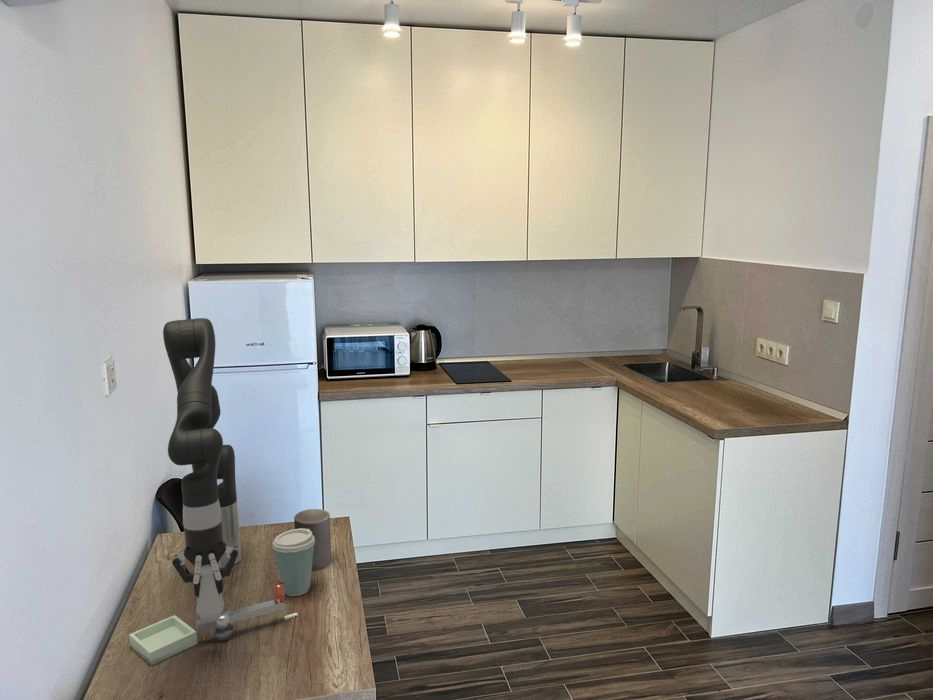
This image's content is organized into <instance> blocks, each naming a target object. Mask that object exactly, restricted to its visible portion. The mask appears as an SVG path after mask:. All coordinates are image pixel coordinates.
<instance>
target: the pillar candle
mask: <svg viewBox="0 0 933 700" xmlns="http://www.w3.org/2000/svg"><path fill="white" fill-rule="evenodd" d="M293 518H294V519H293V520H294V522H293V524H294V525H293V526H294V529H300V528H303V529H309V530H310V531H312V535H313V536H314V538H315V543H314V549H313V560H312V571H316V570H317V571H318V570H322V569H324V568H326V567H328V566H329V565H330V564H331V563H332V541H331V538H332V537H331V514H330V512H329V511H327V510H325V509H323V508H310V509H304V510H301V511H299V512H297V513H296V514H295V515H294V516H293Z"/></svg>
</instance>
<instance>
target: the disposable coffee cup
mask: <svg viewBox="0 0 933 700" xmlns="http://www.w3.org/2000/svg"><path fill="white" fill-rule="evenodd" d="M314 543H315V538H314V536H313V535H312V531H310V530H309V529H303V528H300V529H295V528H294V529H290V530H286V531H284V532H282V533H280V534H278V535H277V536H275V538H274V539H273V542H272V543H271V544H272V546H271V548H272V549H273V554H274V557H275V561H276V566H277V570H278V571H277V572H278V575H279V579H280V580H279V581H280V582H283V583H284V592H285V595H286V596H290V597H299V596H302V595H305V594H306V593H308V592H309V590H310V588H311V581H312V580H311V579H312V572H313V570H312V560H313V549H314Z"/></svg>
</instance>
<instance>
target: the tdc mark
mask: <svg viewBox="0 0 933 700" xmlns="http://www.w3.org/2000/svg"><path fill="white" fill-rule="evenodd" d="M295 616H297V617H298V616H299V615H298V612H294V613H290V614H286V615H285V616H283V617H284V618H283V619H284V620H289V618H290V619H293V618H296V617H295ZM292 617H293V618H292Z"/></svg>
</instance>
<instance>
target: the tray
mask: <svg viewBox="0 0 933 700" xmlns="http://www.w3.org/2000/svg"><path fill="white" fill-rule="evenodd" d="M197 634H198V632H197V630H195V629H193V627H191V626H190V625H189V624H187V623H186V622H184V621H183V620H182V619H181V618H180V617H178V616H177V615H176V614H175V615H172V616H169V617H167V618H165V619H162V620H160V621H157V622H155V623H152V624H151V625H148V626H145V627H143V628H141V629H139V630H137V631H134V632H131V633H129V634H128V637H129V645H130V648H131V649H132V650H133V651H134V650H135V651H136V654H137V655H138V656H139V657H141V658H142V659H143V660H144V661H145V662H147V664H148V665H150V666H151V667H152V666H154V665H156V664H158V663H160V662H162V661H164V660H167V659H168V658H171V657H173V656H175V655H177V654H179V653H182V652H184V651H186V650H188V649H190V648H192V647H194V646H196V644H197V645H198V643H199V642H198V635H197ZM183 650H184V651H183ZM135 651H134V652H135Z"/></svg>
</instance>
